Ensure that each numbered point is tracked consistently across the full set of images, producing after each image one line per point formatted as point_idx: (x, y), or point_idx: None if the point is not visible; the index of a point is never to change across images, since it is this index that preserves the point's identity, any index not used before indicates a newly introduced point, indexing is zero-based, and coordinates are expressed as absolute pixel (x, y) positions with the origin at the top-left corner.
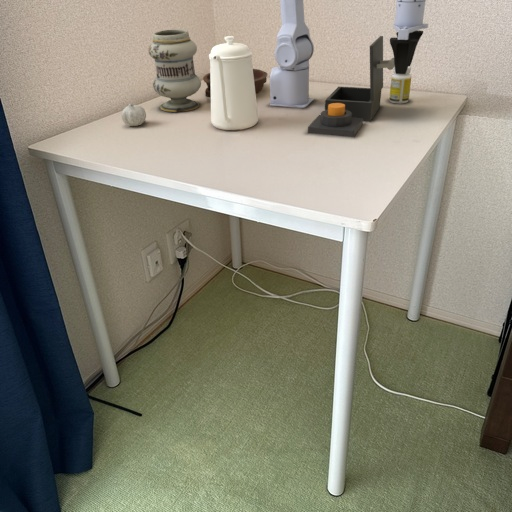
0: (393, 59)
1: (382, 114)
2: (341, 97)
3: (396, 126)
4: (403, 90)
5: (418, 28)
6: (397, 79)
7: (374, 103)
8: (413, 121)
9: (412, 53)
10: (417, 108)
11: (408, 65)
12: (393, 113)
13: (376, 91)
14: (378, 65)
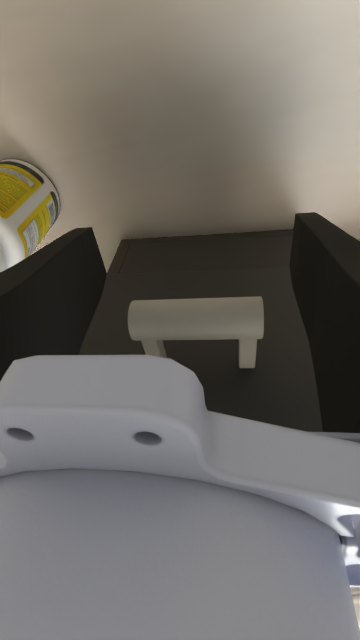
0: (181, 331)
1: (204, 211)
2: None
3: (349, 122)
4: (26, 197)
5: (326, 456)
6: (23, 247)
7: (247, 257)
8: (266, 61)
9: (56, 266)
10: (70, 94)
11: (92, 237)
12: (179, 177)
13: (253, 281)
14: (254, 361)
